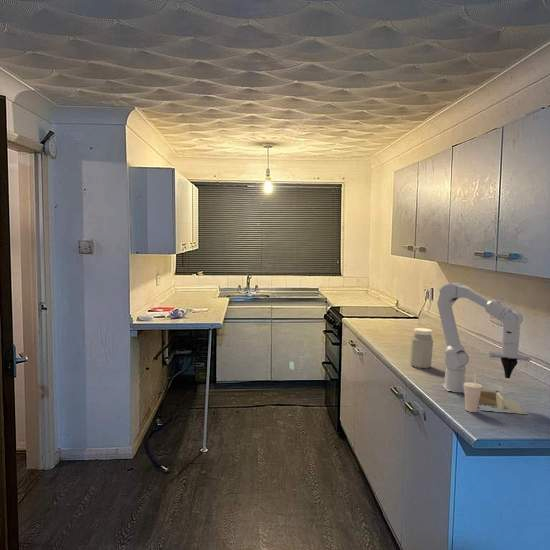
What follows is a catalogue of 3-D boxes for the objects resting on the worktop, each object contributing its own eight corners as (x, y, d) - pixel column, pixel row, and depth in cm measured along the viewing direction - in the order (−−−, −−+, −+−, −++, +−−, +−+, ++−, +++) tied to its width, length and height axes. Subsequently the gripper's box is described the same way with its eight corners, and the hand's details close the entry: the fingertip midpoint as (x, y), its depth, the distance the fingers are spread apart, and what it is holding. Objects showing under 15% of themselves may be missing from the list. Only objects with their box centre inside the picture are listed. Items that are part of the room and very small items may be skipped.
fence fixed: (470, 401, 190) (472, 388, 190) (496, 403, 189) (497, 390, 189) (471, 402, 189) (472, 389, 189) (497, 404, 188) (498, 391, 188)
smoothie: (480, 415, 176) (483, 376, 174) (461, 412, 178) (464, 374, 177) (480, 409, 181) (483, 372, 180) (461, 406, 184) (464, 369, 183)
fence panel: (495, 402, 188) (496, 392, 188) (497, 402, 188) (498, 392, 188) (500, 409, 180) (501, 399, 180) (503, 410, 180) (504, 399, 180)
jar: (432, 370, 233) (434, 332, 231) (410, 367, 235) (413, 330, 233) (429, 364, 243) (432, 328, 241) (409, 362, 244) (411, 326, 243)
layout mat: (468, 396, 196) (468, 395, 196) (512, 400, 194) (512, 399, 194) (480, 411, 180) (480, 410, 180) (528, 415, 178) (528, 414, 178)
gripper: (528, 342, 191) (525, 376, 192) (488, 338, 194) (485, 372, 195) (533, 346, 184) (530, 382, 185) (491, 342, 187) (488, 377, 188)
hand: (507, 377), depth 190 cm, fingers closed
